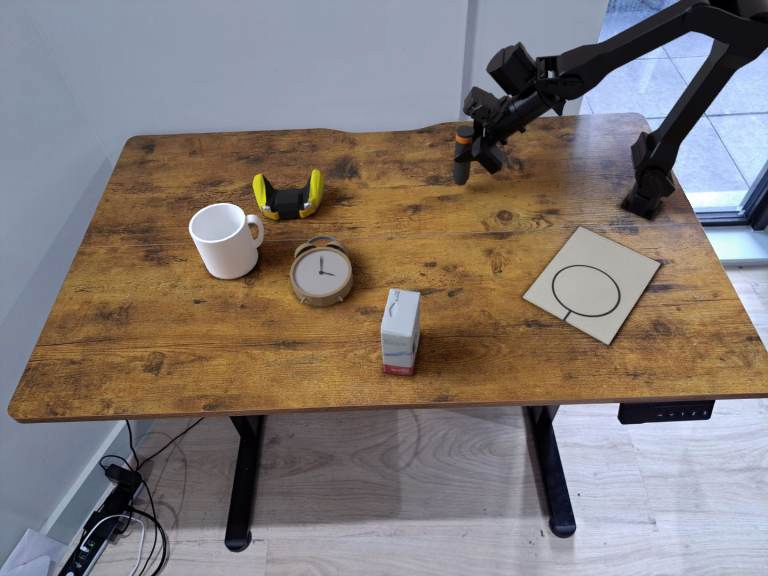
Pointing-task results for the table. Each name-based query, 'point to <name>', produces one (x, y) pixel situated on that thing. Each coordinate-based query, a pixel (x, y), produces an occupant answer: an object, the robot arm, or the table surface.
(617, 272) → the paper sheet
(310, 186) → the gaming controller
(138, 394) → the table surface
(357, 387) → the table surface
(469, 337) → the table surface
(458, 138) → the marker
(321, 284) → the alarm clock
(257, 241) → the mug
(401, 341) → the ink box
